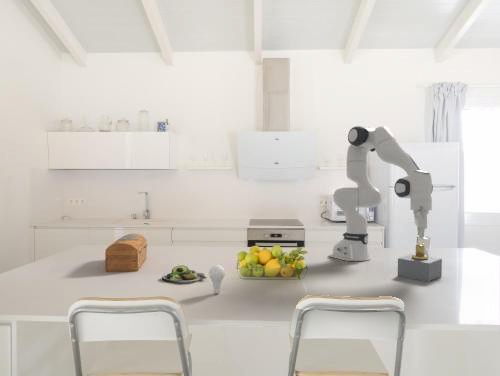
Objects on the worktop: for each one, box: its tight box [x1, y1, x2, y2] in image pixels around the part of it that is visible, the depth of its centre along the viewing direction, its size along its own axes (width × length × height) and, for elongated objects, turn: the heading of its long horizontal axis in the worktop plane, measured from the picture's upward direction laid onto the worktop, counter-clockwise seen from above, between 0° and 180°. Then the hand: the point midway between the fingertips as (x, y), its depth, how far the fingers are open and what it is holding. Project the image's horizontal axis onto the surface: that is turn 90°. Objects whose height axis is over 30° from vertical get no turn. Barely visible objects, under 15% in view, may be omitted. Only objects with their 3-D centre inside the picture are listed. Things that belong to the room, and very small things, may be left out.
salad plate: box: [161, 265, 208, 285], centre depth 174 cm, size 19×18×5 cm
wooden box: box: [104, 233, 148, 273], centre depth 200 cm, size 30×16×14 cm, turn 5°
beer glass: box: [415, 236, 432, 257], centre depth 196 cm, size 7×7×15 cm
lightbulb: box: [208, 264, 226, 294], centre depth 151 cm, size 6×6×11 cm
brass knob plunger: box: [412, 244, 428, 260], centre depth 180 cm, size 7×7×14 cm
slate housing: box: [397, 253, 443, 282], centre depth 180 cm, size 14×14×8 cm
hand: (420, 236), depth 179 cm, fingers open, 8 cm apart
